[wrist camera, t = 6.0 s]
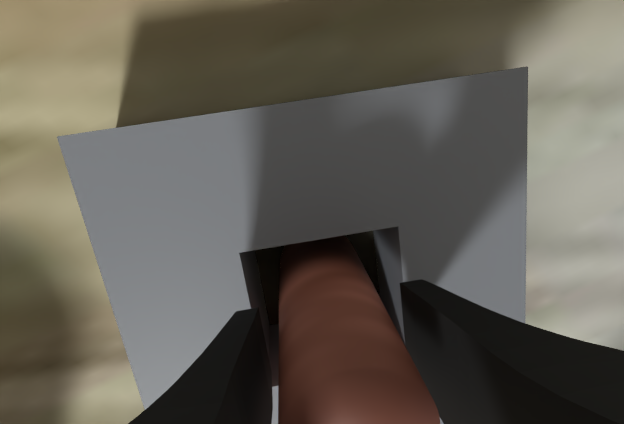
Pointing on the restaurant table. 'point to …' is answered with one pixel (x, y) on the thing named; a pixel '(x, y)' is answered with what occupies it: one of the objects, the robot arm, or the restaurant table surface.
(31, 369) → the restaurant table surface
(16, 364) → the restaurant table surface
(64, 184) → the restaurant table surface
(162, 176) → the block
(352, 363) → the pin
